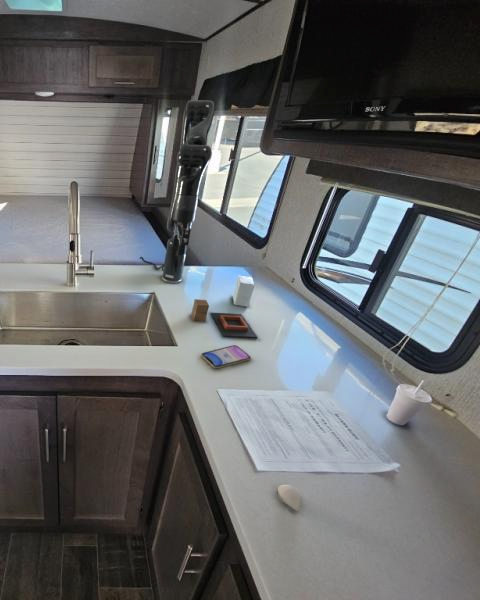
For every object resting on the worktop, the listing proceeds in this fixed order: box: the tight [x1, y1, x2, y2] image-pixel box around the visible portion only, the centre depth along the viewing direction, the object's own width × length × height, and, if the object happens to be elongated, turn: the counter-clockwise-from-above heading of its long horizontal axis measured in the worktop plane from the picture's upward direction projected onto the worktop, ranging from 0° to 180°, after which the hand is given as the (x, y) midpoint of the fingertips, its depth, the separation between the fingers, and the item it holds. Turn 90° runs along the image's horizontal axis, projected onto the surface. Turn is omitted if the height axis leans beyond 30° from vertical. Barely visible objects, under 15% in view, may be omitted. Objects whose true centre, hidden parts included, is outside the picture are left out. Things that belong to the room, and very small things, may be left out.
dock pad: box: [210, 312, 258, 340], centre depth 122 cm, size 16×12×2 cm
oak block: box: [190, 298, 210, 323], centre depth 125 cm, size 4×4×8 cm
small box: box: [232, 275, 255, 307], centre depth 137 cm, size 8×6×10 cm
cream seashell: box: [276, 483, 302, 512], centre depth 65 cm, size 4×5×2 cm
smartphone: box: [200, 344, 252, 369], centre depth 105 cm, size 8×15×1 cm, turn 110°
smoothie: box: [386, 379, 433, 426], centre depth 81 cm, size 6×6×14 cm
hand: (177, 251), depth 121 cm, fingers open, 8 cm apart
